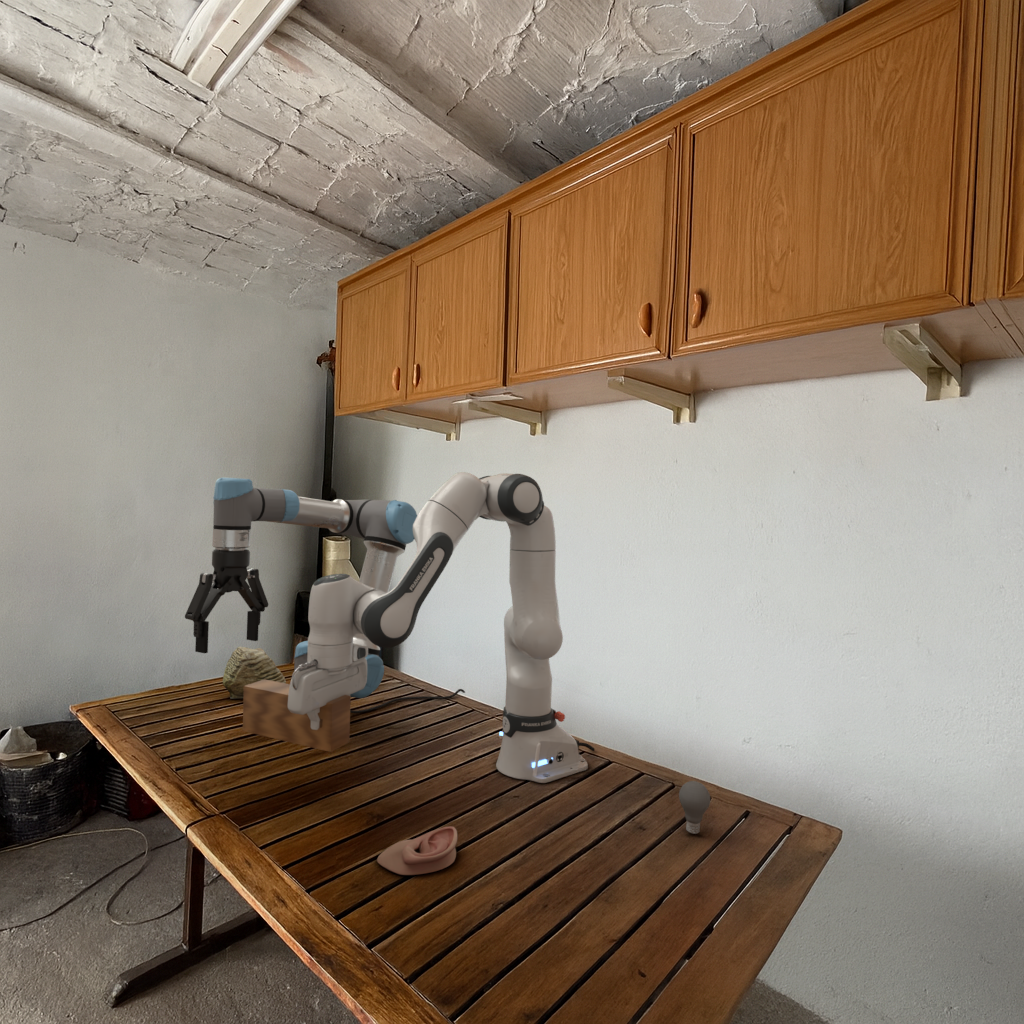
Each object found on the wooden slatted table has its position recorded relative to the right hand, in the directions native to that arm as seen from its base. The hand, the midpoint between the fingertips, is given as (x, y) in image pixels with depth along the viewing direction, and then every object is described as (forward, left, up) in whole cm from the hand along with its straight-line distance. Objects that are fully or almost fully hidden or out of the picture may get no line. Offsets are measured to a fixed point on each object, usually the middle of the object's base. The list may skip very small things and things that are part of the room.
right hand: (328, 722), depth 128 cm
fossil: (+6, -81, -18) cm, 84 cm away
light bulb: (-64, +37, -18) cm, 76 cm away
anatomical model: (-11, +24, -18) cm, 32 cm away
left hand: (+18, -21, +12) cm, 30 cm away
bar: (+5, -7, -4) cm, 10 cm away
